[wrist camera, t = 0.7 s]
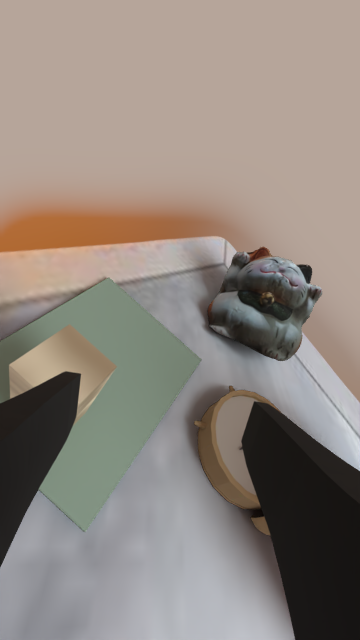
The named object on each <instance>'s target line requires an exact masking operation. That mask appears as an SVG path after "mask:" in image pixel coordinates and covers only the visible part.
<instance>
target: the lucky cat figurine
mask: <svg viewBox="0 0 360 640" xmlns="http://www.w3.org/2000/svg"><path fill="white" fill-rule="evenodd" d="M311 275H312V268H311V267H310V266H309V265H295V264H294V263H293V262H292V261H291V260H288V259H284V258H281V257H273V256H272V255H271V254H270V251H269V250H268V249H267V248H265V247H261V248H260V249H258V250H255V251H254V252H251V253H246V252H242V253H241V252H237V253H236V254H235V255H234V257H233V259H232V263H231V266H230V267H229V269H228V271H227V275H226V276H225V278H224V281H223V284H222V287H221V289H220V291H219V293H218V295H217V296H216V298H215V299H214V300H213V301H212V302H211V304H210V305H209V308H208V317H209V324H210V325H209V327H211V328H213V329H214V330H215V331H216V332H218V333H219V334H221V335H224V336H226V337H229V338H232V339H234V340H236V341H238V342H240V343H242V344H244V345H246V346H247V347H249V348H251V349H253V350H255V351H257V352H259V353H261V354H263V355H265V356H267V357H270V358H273V359H276V360H278V361H285V360H288V359H289V358H291V357H292V356H293V355H294V354H295V353H296V352H297V350H298V349H299V347H300V344H301V341H302V331H301V327H302V325H303V324H304V323H305V322H306V320H307V319H308V318H309V317H310V316H309V315H310V313H311V312H312V309H313V307H314V304H315V303H316V301H317V300H318V299H319V298H320V296H321V295H322V289H321V288H320V287H319V286H316V285H311V284H309V283H310V280H311Z"/></svg>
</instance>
